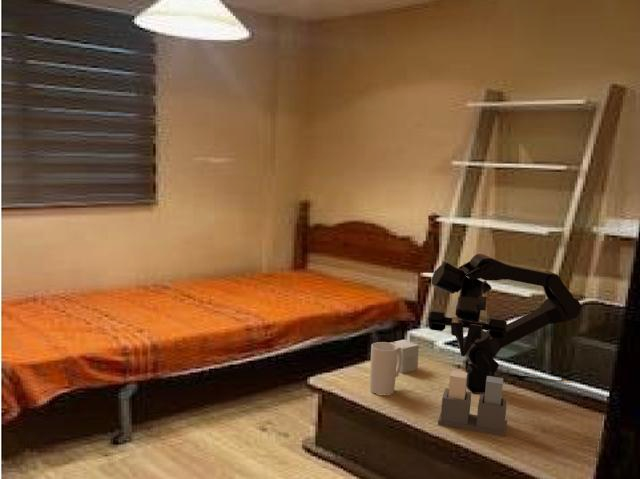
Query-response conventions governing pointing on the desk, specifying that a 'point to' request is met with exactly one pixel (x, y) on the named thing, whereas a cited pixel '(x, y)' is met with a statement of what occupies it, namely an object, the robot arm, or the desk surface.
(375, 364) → the mug
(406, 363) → the skincare box
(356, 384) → the desk surface
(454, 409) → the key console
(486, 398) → the slate key
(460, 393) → the beige block
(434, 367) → the desk surface
